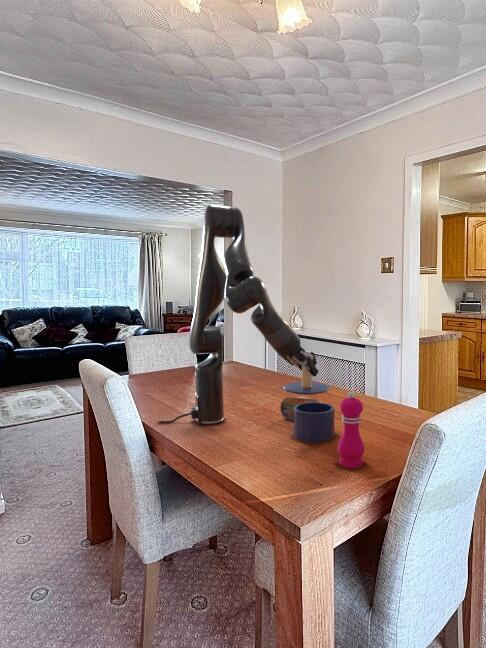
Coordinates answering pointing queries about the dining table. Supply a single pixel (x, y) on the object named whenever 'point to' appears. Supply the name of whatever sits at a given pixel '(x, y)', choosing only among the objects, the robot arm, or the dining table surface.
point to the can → (314, 422)
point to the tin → (289, 404)
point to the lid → (306, 385)
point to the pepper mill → (351, 433)
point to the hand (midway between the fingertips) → (311, 373)
